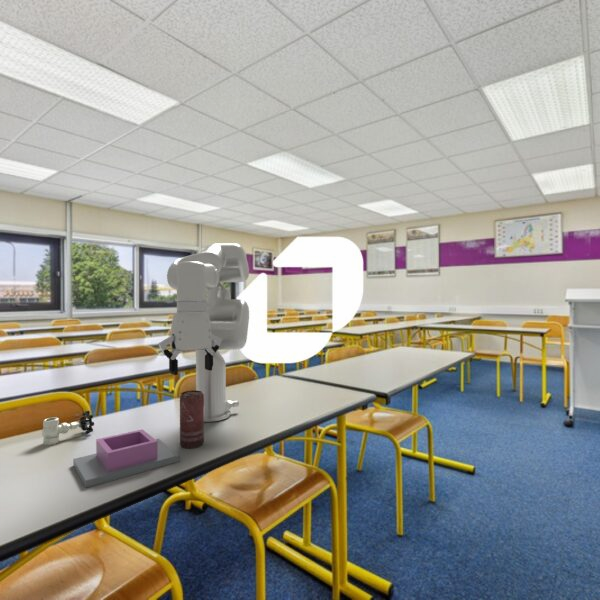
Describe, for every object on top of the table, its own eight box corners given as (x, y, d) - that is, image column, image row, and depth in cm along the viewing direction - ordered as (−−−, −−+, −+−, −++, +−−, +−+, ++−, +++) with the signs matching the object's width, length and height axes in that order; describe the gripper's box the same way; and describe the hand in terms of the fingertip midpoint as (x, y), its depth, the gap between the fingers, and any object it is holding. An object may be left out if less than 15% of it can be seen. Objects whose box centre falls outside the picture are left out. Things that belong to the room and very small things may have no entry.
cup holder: (158, 444, 104) (158, 423, 104) (179, 461, 93) (178, 438, 93) (73, 465, 91) (73, 442, 91) (85, 487, 80) (85, 461, 80)
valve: (47, 448, 102) (94, 435, 111) (47, 423, 102) (94, 412, 111) (37, 442, 106) (84, 430, 115) (37, 418, 106) (84, 408, 115)
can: (203, 448, 101) (203, 394, 101) (178, 449, 100) (178, 395, 100) (205, 439, 107) (205, 389, 107) (181, 441, 106) (181, 390, 106)
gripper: (214, 307, 112) (214, 366, 112) (154, 308, 101) (154, 374, 101) (227, 307, 106) (227, 370, 106) (164, 308, 95) (164, 378, 95)
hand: (191, 372), depth 103 cm, fingers open, 9 cm apart
